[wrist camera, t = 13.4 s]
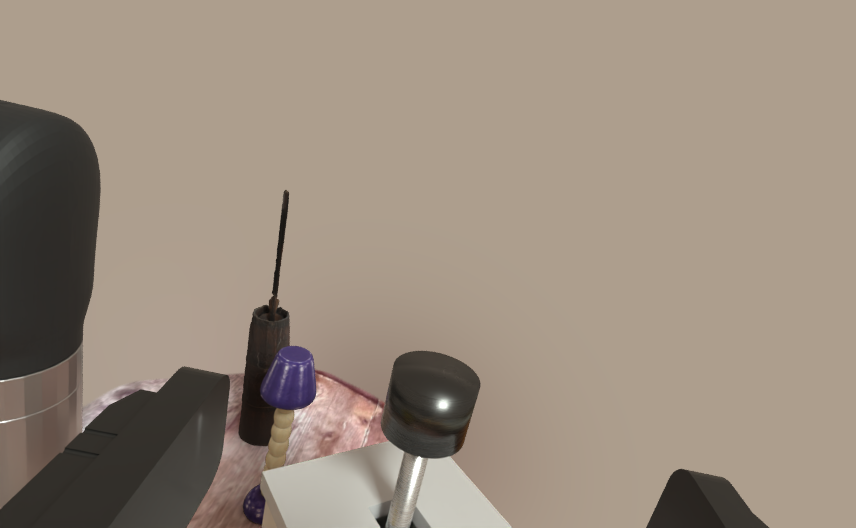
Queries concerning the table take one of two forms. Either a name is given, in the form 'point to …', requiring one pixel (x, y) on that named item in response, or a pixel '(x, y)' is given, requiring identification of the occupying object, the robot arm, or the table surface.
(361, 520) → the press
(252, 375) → the butter churn
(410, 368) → the plunger
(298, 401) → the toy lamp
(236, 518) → the table surface
